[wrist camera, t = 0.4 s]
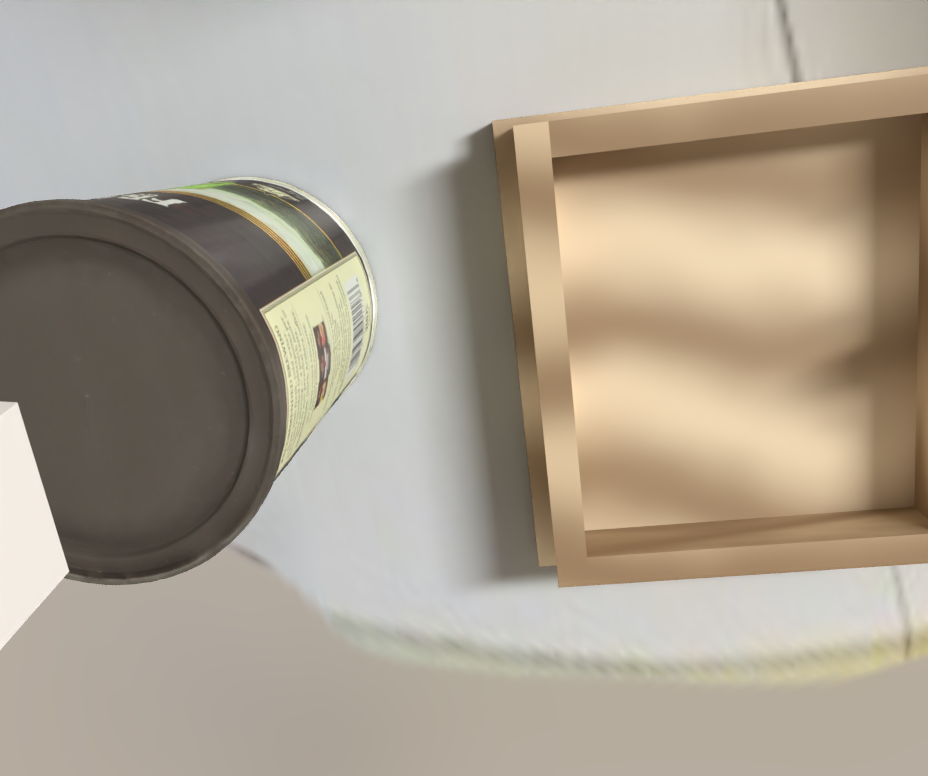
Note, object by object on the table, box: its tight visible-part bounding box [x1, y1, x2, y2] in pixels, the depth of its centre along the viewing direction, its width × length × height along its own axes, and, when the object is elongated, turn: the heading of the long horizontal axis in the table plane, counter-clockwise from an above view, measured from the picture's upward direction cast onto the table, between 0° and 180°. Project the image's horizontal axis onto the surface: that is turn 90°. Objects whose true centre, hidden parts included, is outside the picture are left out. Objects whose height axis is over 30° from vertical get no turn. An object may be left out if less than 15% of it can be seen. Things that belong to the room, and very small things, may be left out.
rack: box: [492, 66, 928, 587], centre depth 31 cm, size 18×21×7 cm
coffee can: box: [0, 177, 377, 585], centre depth 29 cm, size 10×10×14 cm
